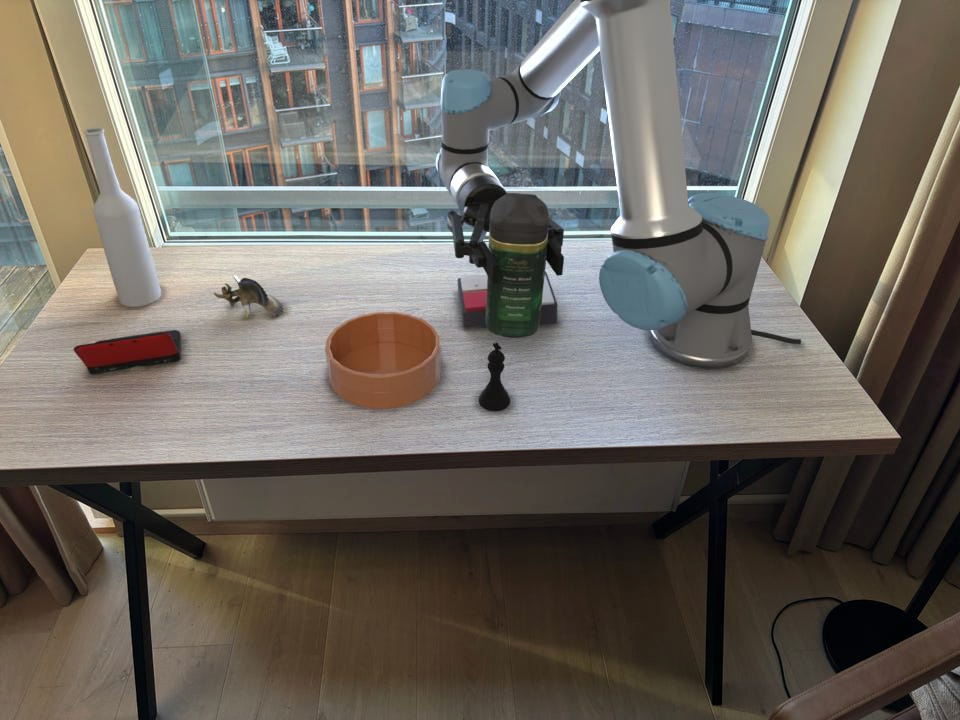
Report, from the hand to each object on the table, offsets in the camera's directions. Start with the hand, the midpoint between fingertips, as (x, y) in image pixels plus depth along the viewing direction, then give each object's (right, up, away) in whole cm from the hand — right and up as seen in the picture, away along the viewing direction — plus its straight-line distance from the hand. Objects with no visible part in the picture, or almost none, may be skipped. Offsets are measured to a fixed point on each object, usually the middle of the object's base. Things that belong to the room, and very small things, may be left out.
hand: (528, 270), depth 100 cm
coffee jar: (-1, -6, +10) cm, 12 cm away
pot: (-20, -14, +11) cm, 27 cm away
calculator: (-2, -3, +26) cm, 26 cm away
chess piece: (-4, -18, +7) cm, 19 cm away
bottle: (-62, -1, +27) cm, 68 cm away
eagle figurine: (-43, -4, +24) cm, 49 cm away
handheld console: (-57, -12, +12) cm, 59 cm away
